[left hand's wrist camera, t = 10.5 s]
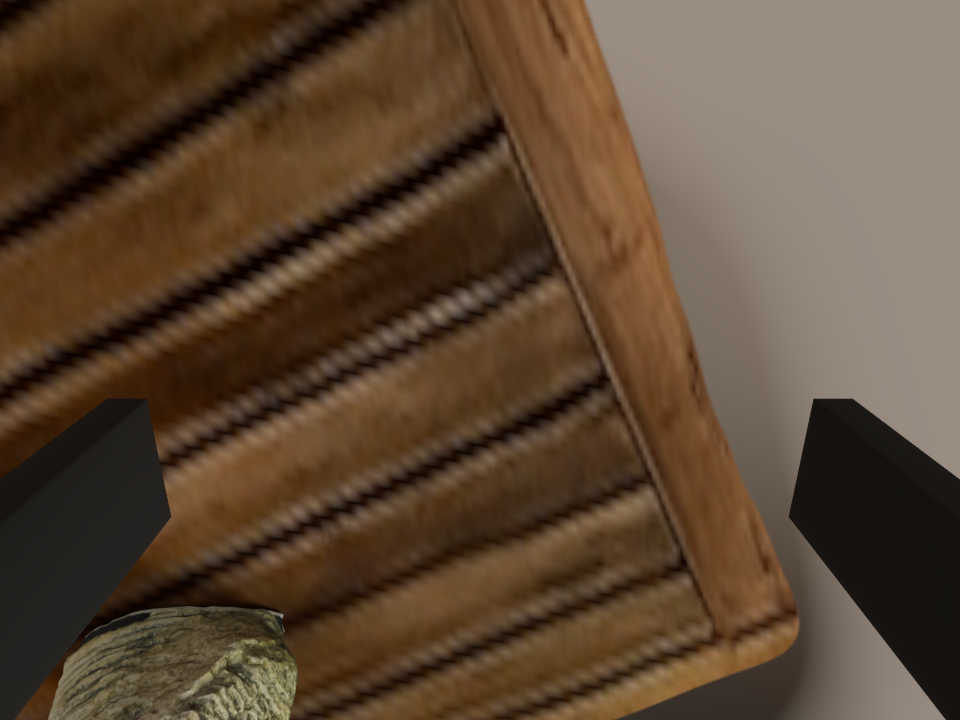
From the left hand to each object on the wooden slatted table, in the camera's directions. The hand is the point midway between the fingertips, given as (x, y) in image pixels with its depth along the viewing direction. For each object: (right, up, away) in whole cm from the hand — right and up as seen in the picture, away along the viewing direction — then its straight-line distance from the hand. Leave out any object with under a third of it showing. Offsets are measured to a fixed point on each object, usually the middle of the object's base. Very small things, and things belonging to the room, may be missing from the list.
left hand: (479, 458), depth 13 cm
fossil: (-22, -20, +36) cm, 46 cm away
